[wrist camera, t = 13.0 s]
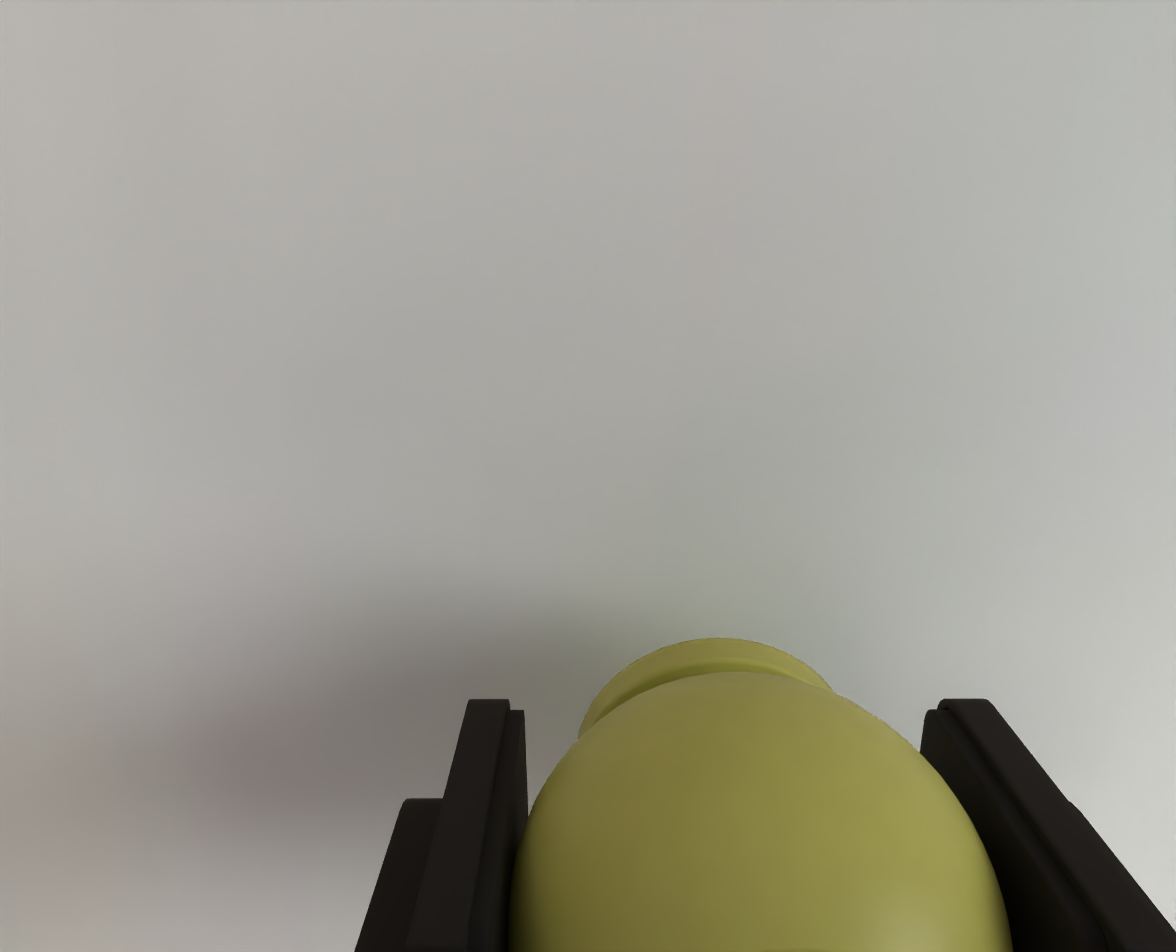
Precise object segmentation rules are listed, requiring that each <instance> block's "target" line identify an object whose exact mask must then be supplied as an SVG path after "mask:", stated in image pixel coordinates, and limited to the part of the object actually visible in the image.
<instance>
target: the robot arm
mask: <svg viewBox="0 0 1176 952" xmlns="http://www.w3.org/2000/svg"><path fill="white" fill-rule="evenodd" d="M920 754H921V755H922V756H923V757H924V758H925V759H926V760H927V761H928V762H929V763H930V765H931V766H932V767H933V768H934V769H935V770H936V771H937V772H938V773H939V774H940V776H941V777H942V778H943V780H944V781H945V782H946V784H947V785H948V786H949V788H950V789H951V791H952V792H953V793H954V795H955V796H956V798H957V799H958V801H959V802H960V804H961V805H962V807H963V808H964V810H965V811H966V813H967V814H968V816H969V818H970V819H971V821H972V823H973V825H974V827H975V829H976V831H977V833H978V835H979V837H980V839H981V841H982V843H983V845H984V847H985V849H986V852H987V854H988V856H989V859H990V861H991V863H992V866H993V868H994V871H995V874H996V877H997V880H998V883H999V886H1000V890H1001V893H1002V896H1003V899H1004V904H1005V908H1006V912H1007V916H1008V920H1009V925H1010V932H1011V939H1012V946H1013V952H1176V932H1175V930H1174V929H1173V928H1172V927H1171V925H1170V924H1169V923H1168V921H1167V920H1166V919H1165V918H1164V916H1163V915H1162V914H1161V913H1160V911H1159V910H1158V909H1157V908H1156V906H1155V905H1154V904H1153V903H1152V901H1151V900H1150V899H1149V897H1148V896H1147V895H1146V894H1145V892H1144V891H1143V890H1142V889H1141V887H1140V886H1139V885H1138V884H1137V882H1136V881H1135V880H1134V879H1133V877H1132V876H1131V875H1130V874H1129V872H1128V871H1127V870H1126V868H1125V867H1124V866H1123V865H1122V863H1121V862H1120V861H1119V860H1118V858H1117V857H1116V856H1115V855H1114V853H1113V852H1112V851H1111V850H1110V848H1109V847H1108V846H1107V844H1106V843H1105V842H1104V841H1103V839H1102V838H1101V837H1100V836H1099V834H1098V833H1097V832H1096V831H1095V829H1094V828H1093V827H1092V826H1091V824H1090V823H1089V822H1088V821H1087V819H1086V818H1085V817H1084V815H1083V814H1082V813H1081V812H1080V811H1079V810H1078V809H1077V808H1076V807H1075V806H1074V805H1073V804H1072V803H1071V802H1069V801H1068V800H1067V799H1066V797H1065V796H1064V795H1063V794H1062V792H1061V791H1060V790H1059V789H1058V787H1057V786H1056V785H1055V783H1054V782H1053V781H1052V780H1051V778H1050V777H1049V776H1048V775H1047V773H1046V772H1045V771H1044V769H1043V768H1042V767H1041V766H1040V764H1039V763H1038V762H1037V761H1036V759H1035V758H1034V757H1033V755H1032V754H1031V753H1030V752H1029V750H1028V749H1027V748H1026V747H1025V745H1024V744H1023V743H1022V741H1021V740H1020V739H1019V738H1018V736H1017V735H1016V734H1015V733H1014V731H1013V730H1012V729H1011V727H1010V726H1009V725H1008V724H1007V722H1006V721H1005V720H1004V719H1003V717H1002V716H1001V715H1000V713H999V712H998V711H997V710H996V708H995V707H994V706H993V705H992V704H991V703H990V702H989V701H988V700H986V699H943V700H941V701H940V703H939V705H938V707H937V709H930V710H928V711H927V713H926V715H925V720H924V726H923V733H922V740H921V747H920ZM527 819H528V795H527V768H526V742H525V717H524V710H510V703H509V700H508V699H470V700H469V701H468V704H467V707H466V711H465V715H464V719H463V723H462V726H461V730H460V734H459V738H458V742H457V746H456V750H455V754H454V758H453V761H452V765H451V769H450V773H449V777H448V781H447V785H446V789H445V793H444V796H443V798H407V799H406V800H405V801H404V802H403V804H402V807H401V809H400V812H399V815H398V818H397V821H396V824H395V827H394V830H393V833H392V836H391V840H390V843H389V846H388V849H387V852H386V855H385V858H384V861H383V864H382V867H381V871H380V874H379V877H378V880H377V883H376V886H375V889H374V892H373V895H372V898H371V902H370V905H369V908H368V911H367V914H366V917H365V920H364V923H363V926H362V929H361V932H360V936H359V939H358V942H357V945H356V948H355V951H354V952H508V909H509V897H510V885H511V875H512V870H513V865H514V861H515V856H516V851H517V847H518V843H519V840H520V838H521V835H522V832H523V830H524V827H525V824H526V822H527Z"/></svg>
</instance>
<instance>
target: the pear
mask: <svg viewBox="0 0 1176 952" xmlns="http://www.w3.org/2000/svg"><path fill="white" fill-rule="evenodd" d="M508 952H1013V946H1012V939H1011V932H1010V925H1009V920H1008V916H1007V912H1006V908H1005V904H1004V899H1003V896H1002V893H1001V890H1000V886H999V883H998V880H997V877H996V874H995V871H994V868H993V866H992V863H991V861H990V859H989V856H988V854H987V852H986V849H985V847H984V845H983V843H982V841H981V839H980V837H979V835H978V833H977V831H976V829H975V827H974V825H973V823H972V821H971V819H970V818H969V816H968V814H967V813H966V811H965V810H964V808H963V807H962V805H961V804H960V802H959V801H958V799H957V798H956V796H955V795H954V793H953V792H952V791H951V789H950V788H949V786H948V785H947V784H946V782H945V781H944V780H943V778H942V777H941V776H940V774H939V773H938V772H937V771H936V770H935V769H934V768H933V767H932V766H931V765H930V763H929V762H928V761H927V760H926V759H925V758H924V757H923V756H922V755H921V754H920V753H919V752H918V751H917V750H916V749H915V748H914V747H913V746H912V745H911V744H910V743H909V742H908V741H907V740H906V739H904V738H903V737H902V736H901V735H900V734H898V733H897V732H896V731H895V730H894V729H892V728H891V727H890V726H889V725H887V724H886V723H885V722H883V721H882V720H880V719H879V718H877V717H876V716H874V715H872V714H871V713H869V712H868V711H866V710H864V709H863V708H861V707H860V706H858V705H856V704H855V703H853V702H851V701H850V700H848V699H846V698H844V697H841V696H839V695H837V694H835V693H834V692H833V690H832V689H831V687H830V686H829V685H828V684H827V683H826V682H825V681H824V680H823V679H822V678H821V677H820V675H818V674H817V673H816V672H815V671H813V670H812V669H811V668H810V667H809V666H807V665H806V664H804V663H803V662H801V661H799V660H798V659H796V658H795V657H793V656H791V655H789V654H787V653H785V652H782V651H780V650H778V649H776V648H773V647H770V646H767V645H764V644H760V643H757V642H752V641H746V640H741V639H730V638H708V639H697V640H691V641H686V642H681V643H677V644H674V645H671V646H667V647H664V648H661V649H659V650H657V651H654V652H652V653H650V654H648V655H646V656H644V657H642V658H640V659H639V660H637V661H635V662H634V663H632V664H630V665H629V666H628V667H626V668H625V669H624V670H622V671H621V672H620V673H618V674H617V675H616V676H615V677H614V678H613V679H612V680H611V681H610V682H609V683H608V684H607V685H606V686H605V687H604V688H603V689H602V691H601V692H600V693H599V695H598V696H597V697H596V698H595V700H594V701H593V703H592V704H591V706H590V708H589V710H588V711H587V713H586V715H585V717H584V720H583V722H582V725H581V728H580V730H579V734H578V739H577V741H576V742H575V743H574V744H573V745H572V746H571V747H570V749H569V750H568V751H567V753H566V754H565V755H564V757H563V758H562V759H561V760H560V762H559V763H558V764H557V766H556V767H555V769H554V770H553V772H552V773H551V774H550V776H549V777H548V779H547V781H546V782H545V784H544V786H543V788H542V789H541V791H540V793H539V795H538V796H537V798H536V800H535V802H534V804H533V807H532V809H531V812H530V814H529V817H528V819H527V822H526V824H525V827H524V830H523V832H522V835H521V838H520V840H519V843H518V847H517V851H516V856H515V861H514V865H513V870H512V875H511V885H510V897H509V909H508Z"/></svg>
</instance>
